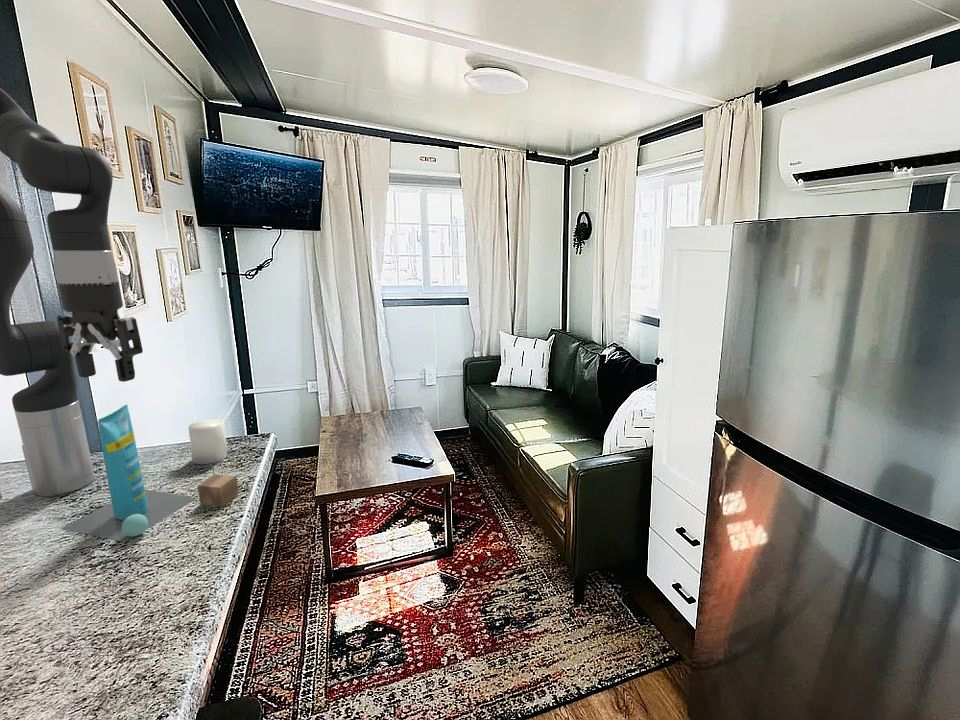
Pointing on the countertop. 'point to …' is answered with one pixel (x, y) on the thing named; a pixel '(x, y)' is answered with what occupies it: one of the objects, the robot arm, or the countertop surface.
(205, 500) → the walnut block
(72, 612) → the countertop surface
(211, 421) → the white rounded cylinder
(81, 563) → the countertop surface
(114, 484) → the tube
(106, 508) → the plate
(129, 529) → the teal ball
